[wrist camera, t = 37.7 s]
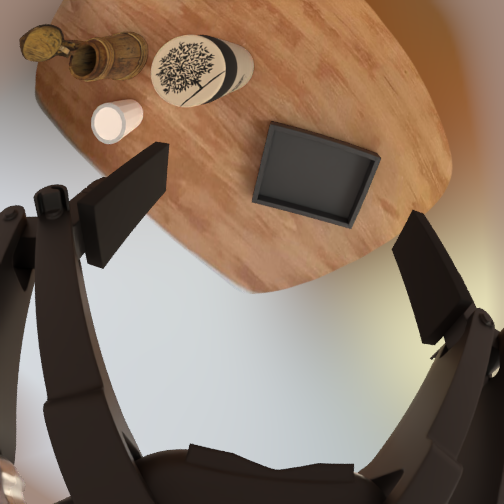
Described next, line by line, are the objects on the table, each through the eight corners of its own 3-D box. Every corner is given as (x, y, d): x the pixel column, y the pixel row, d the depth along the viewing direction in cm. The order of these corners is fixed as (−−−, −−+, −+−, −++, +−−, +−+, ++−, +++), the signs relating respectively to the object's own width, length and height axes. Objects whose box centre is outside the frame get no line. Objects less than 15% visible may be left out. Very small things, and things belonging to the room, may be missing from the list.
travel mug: (193, 59, 36) (134, 63, 22) (238, 34, 33) (201, 17, 19) (218, 99, 40) (173, 124, 26) (263, 76, 37) (243, 84, 23)
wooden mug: (108, 12, 30) (33, 9, 16) (158, 49, 35) (88, 52, 21) (81, 51, 35) (7, 65, 21) (127, 89, 40) (55, 113, 26)
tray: (377, 153, 41) (381, 158, 39) (349, 222, 50) (351, 229, 48) (271, 120, 41) (270, 123, 39) (253, 196, 49) (251, 202, 48)
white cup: (132, 139, 45) (112, 152, 40) (107, 117, 43) (84, 128, 38) (153, 111, 42) (133, 120, 36) (126, 88, 40) (103, 94, 34)
